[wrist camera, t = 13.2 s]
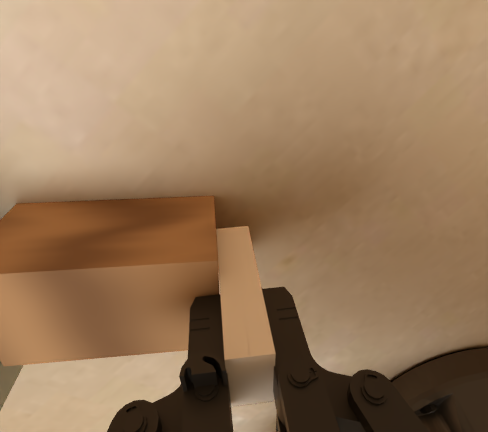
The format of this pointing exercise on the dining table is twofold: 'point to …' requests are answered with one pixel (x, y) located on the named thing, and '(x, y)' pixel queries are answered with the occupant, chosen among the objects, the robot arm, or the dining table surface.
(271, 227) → the dining table surface
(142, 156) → the dining table surface
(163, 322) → the peg
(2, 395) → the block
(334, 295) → the dining table surface
